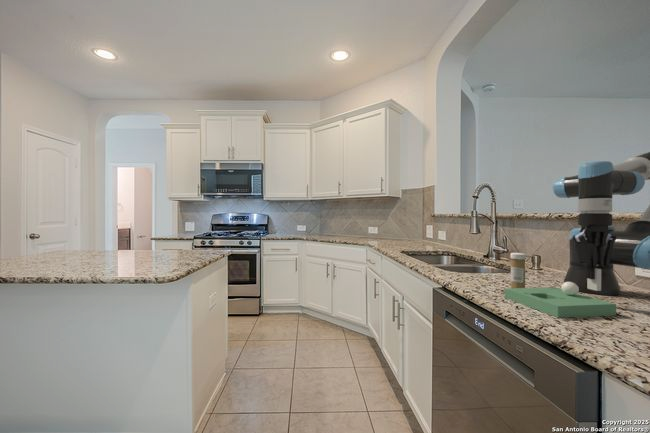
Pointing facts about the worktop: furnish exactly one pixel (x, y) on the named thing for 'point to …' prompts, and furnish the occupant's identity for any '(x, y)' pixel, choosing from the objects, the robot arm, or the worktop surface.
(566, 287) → the ball
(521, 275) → the sprinkles bottle
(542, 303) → the putting board
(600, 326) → the worktop surface
